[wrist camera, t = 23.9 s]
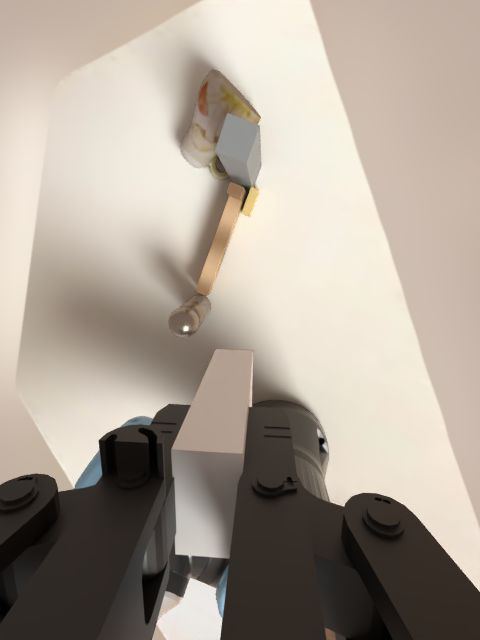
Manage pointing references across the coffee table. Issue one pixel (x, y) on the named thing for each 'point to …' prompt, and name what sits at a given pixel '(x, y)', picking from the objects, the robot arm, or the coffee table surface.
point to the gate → (221, 238)
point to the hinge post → (189, 316)
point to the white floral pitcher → (213, 121)
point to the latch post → (241, 155)
